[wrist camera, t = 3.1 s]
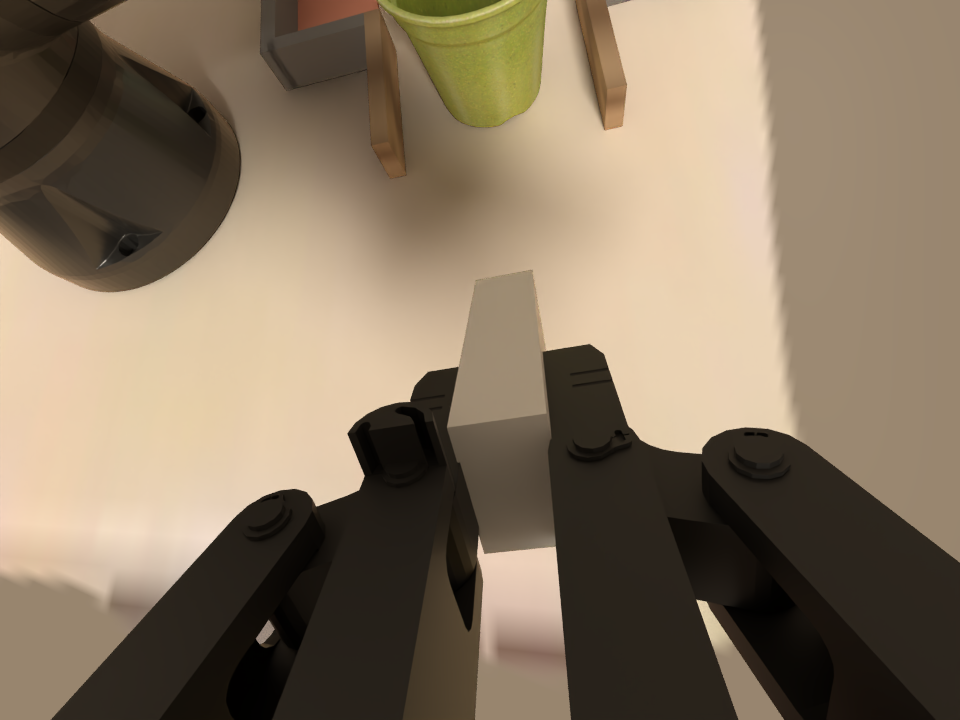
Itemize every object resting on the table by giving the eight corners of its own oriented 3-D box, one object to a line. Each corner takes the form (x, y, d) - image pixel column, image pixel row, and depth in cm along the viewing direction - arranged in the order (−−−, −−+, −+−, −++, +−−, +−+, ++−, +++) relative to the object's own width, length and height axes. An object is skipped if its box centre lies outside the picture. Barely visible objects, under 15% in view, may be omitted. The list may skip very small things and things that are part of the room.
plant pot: (445, 24, 34) (401, -131, 26) (585, 32, 31) (586, -136, 23) (400, 142, 32) (337, 15, 24) (546, 161, 29) (532, 27, 21)
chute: (622, 126, 29) (626, 84, 26) (390, 178, 31) (371, 145, 28) (591, -3, 32) (592, -52, 29) (381, 53, 34) (363, 12, 31)
